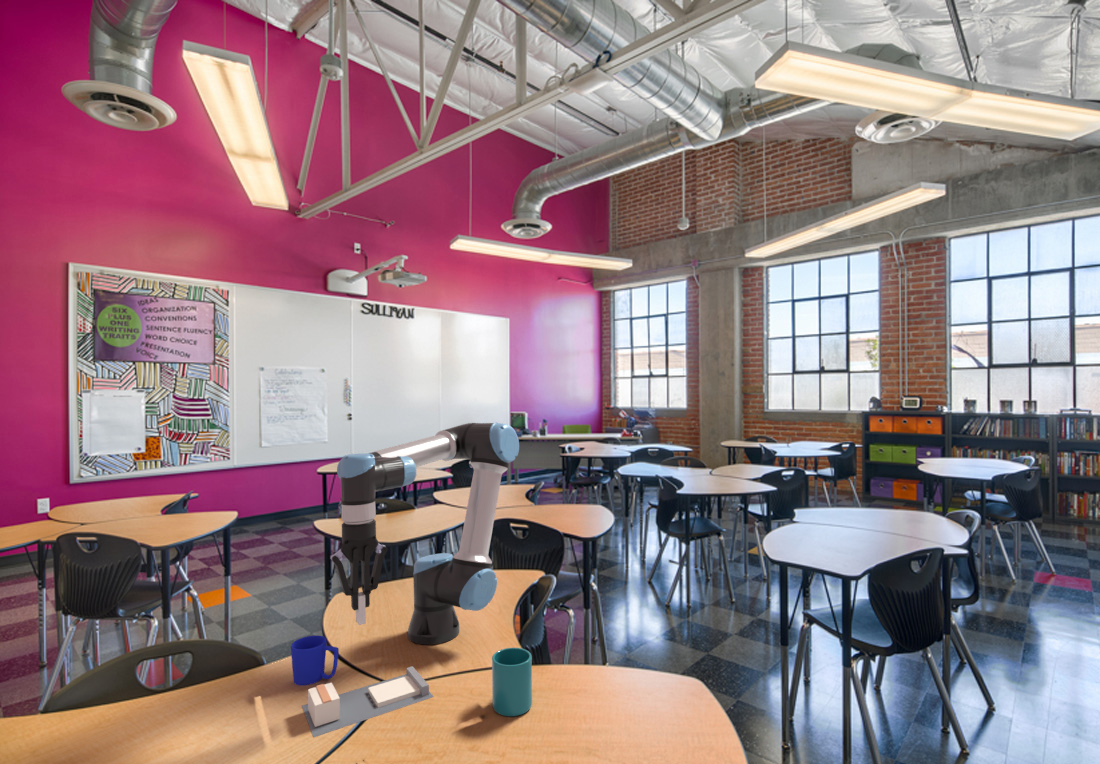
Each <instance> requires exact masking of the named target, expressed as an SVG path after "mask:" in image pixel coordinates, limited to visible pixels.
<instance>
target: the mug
mask: <svg viewBox="0 0 1100 764" xmlns="http://www.w3.org/2000/svg"><path fill="white" fill-rule="evenodd" d="M327 641H328V640H327V638H326V637H325V636H324V635H308V636H304V637H300V638H298V639H296V640H295V641H293V642H292V643H291V645H290V652H291V653H290V655H291V665H292V677H293V678H292V679H293V683H294V684H295V685H296V686H310V685H314V684H316V683H318V682H320V681H321V680H323V679H324V680H329V679H331V678H333V677H334V676H335V674H336V671H337V668H338V663H339V650H340V649H339V647H338V646H331V645H327V644H328V643H327ZM327 651H329V652H333V664H332V665H333V666H332V670H331V673H330V674H326V673H325V669H326V668H325V667H326V655H327Z"/></svg>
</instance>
